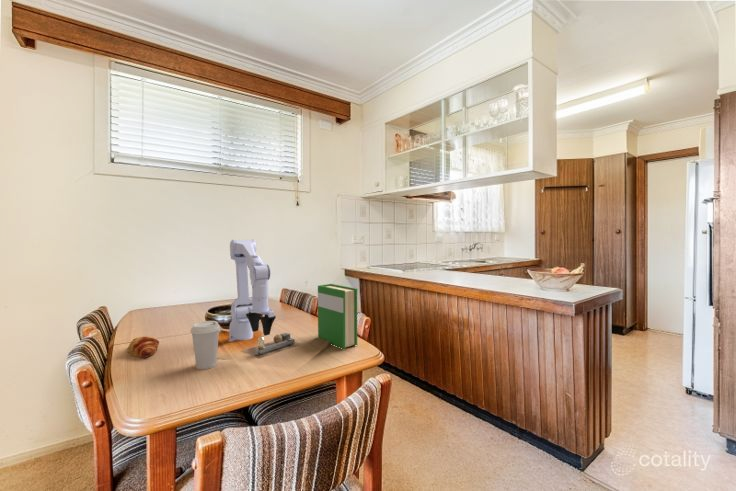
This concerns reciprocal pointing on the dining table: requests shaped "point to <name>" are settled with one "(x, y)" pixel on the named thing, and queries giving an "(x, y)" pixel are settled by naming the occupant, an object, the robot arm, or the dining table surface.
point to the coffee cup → (205, 343)
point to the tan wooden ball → (278, 338)
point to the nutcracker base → (254, 350)
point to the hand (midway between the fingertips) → (260, 333)
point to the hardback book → (337, 315)
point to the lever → (263, 349)
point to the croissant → (143, 346)
